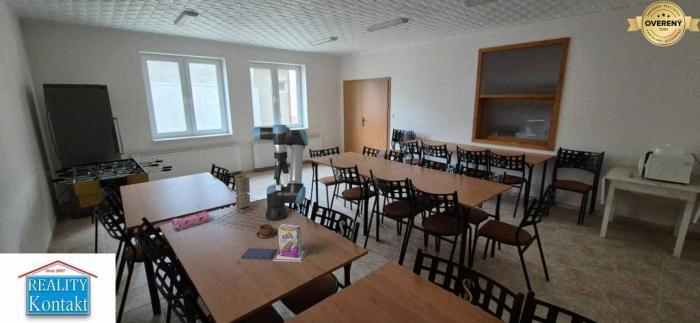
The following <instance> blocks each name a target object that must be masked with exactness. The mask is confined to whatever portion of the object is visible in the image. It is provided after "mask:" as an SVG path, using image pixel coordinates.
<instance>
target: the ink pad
mask: <svg viewBox="0 0 700 323" xmlns="http://www.w3.org/2000/svg"><path fill="white" fill-rule="evenodd" d="M277 251H278V249H277V248H253V247H249V248H248V249H247V250H246V251H245V252H244V253H242V256H241V257H240V259H243V260H272V259H273V257H275V256H274V255H275V254H277Z"/></svg>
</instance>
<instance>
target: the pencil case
mask: <svg viewBox="0 0 700 323" xmlns="http://www.w3.org/2000/svg"><path fill="white" fill-rule="evenodd" d="M209 217H210V214H209V213H207V211H206V210H204V211H202V212H199V213H196V214H193V215H189V216H185V217H183V218H182V217H181V218H173V219H172V220H171V224H172V229H173V230H174V231H175V232H176V233H177V232H180V231H183V230H186V229H189V228H192V227H196V226H198V225H203V224H207V223H209V222H210V218H209Z"/></svg>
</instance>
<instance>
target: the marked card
mask: <svg viewBox="0 0 700 323" xmlns="http://www.w3.org/2000/svg"><path fill="white" fill-rule="evenodd" d="M301 251H302V254H301V255H300V256H299V257H298V258H295V257H287V256H279V251H278V252H276V255H275V256H274V258H272V259H273V260H272V261H273V262H293V263H294V262H297V263H302V262H303V260H304V258H305V255H306V253H307V249H301Z"/></svg>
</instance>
